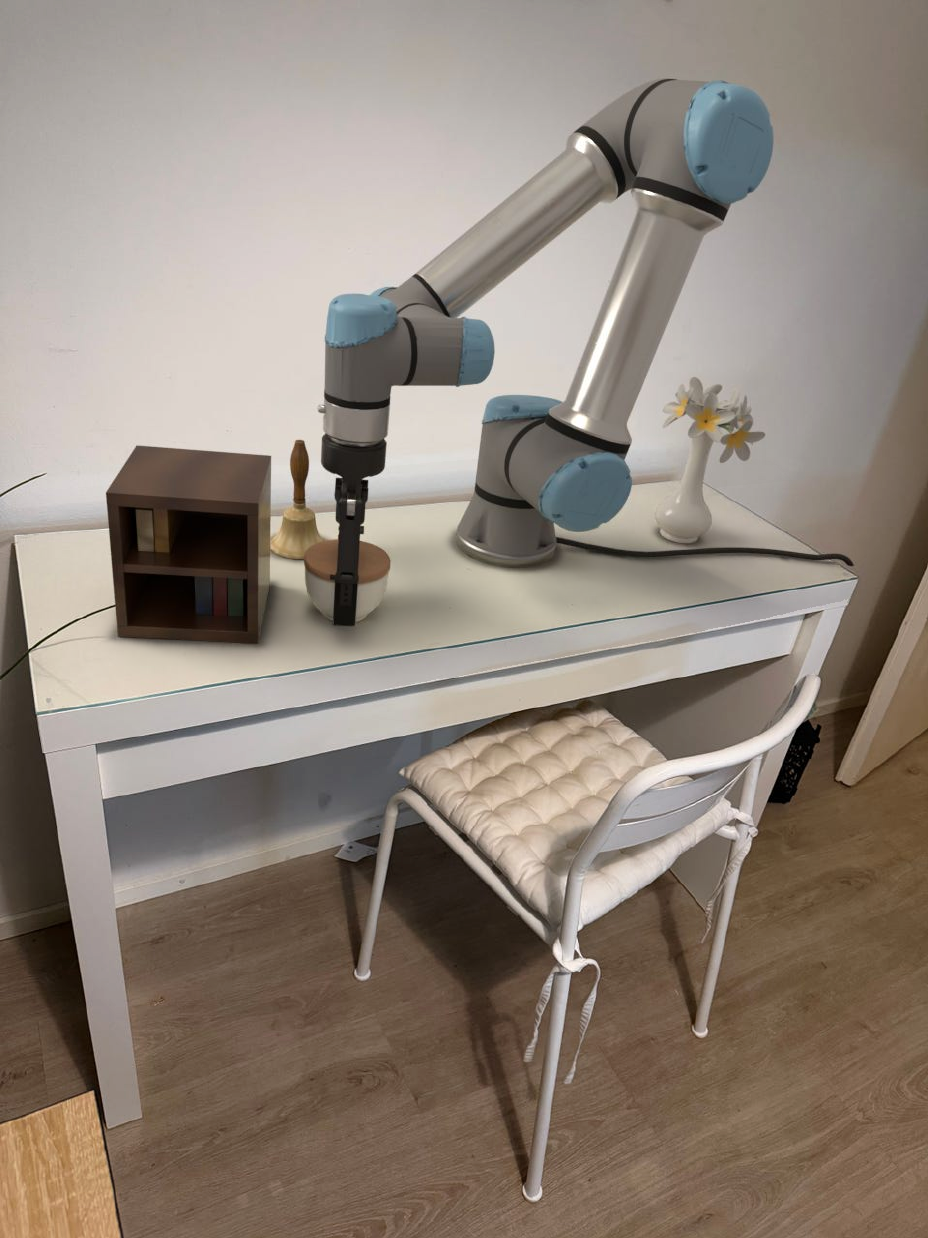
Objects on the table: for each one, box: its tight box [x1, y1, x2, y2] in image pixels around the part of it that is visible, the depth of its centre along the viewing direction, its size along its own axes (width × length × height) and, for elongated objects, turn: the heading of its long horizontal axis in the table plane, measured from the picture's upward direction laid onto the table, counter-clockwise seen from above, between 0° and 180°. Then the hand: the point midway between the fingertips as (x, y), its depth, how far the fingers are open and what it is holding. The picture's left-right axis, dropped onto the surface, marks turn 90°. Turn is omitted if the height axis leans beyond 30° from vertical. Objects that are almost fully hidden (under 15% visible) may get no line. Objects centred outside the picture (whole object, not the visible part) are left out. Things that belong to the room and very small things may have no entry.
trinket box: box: [303, 538, 391, 623], centre depth 115 cm, size 11×11×9 cm
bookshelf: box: [105, 444, 272, 644], centre depth 109 cm, size 16×15×18 cm
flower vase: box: [654, 376, 766, 544], centre depth 146 cm, size 13×18×25 cm
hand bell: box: [270, 439, 326, 560], centre depth 128 cm, size 8×8×16 cm
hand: (345, 601), depth 117 cm, fingers closed on trinket box, 11 cm apart
